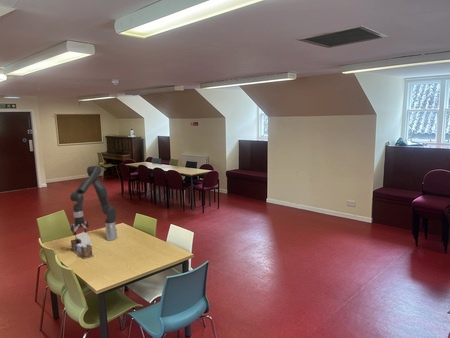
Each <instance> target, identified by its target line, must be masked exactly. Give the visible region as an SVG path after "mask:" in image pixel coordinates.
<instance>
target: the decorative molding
mask: <svg viewBox="0 0 450 338" xmlns="http://www.w3.org/2000/svg"><path fill="white" fill-rule="evenodd" d="M75 237H76V239H80V240H81V243H82V244H83V245H85V246H87V245H88V244H89V245H90V246H92V247H93V243H92V240H91V239H90V236H89V234H88V233H87V232H86V233H85V232H84V231H82V232H81V233H78V234H76V236H75Z"/></svg>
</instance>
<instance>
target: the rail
mask: <svg viewBox="0 0 450 338" xmlns="http://www.w3.org/2000/svg"><path fill="white" fill-rule="evenodd" d="M81 246H83V247H87V246H85V245H83V244H82V243H79V244H76V250H77V251H78V252H79V253H81Z"/></svg>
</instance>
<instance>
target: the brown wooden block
mask: <svg viewBox="0 0 450 338" xmlns="http://www.w3.org/2000/svg"><path fill="white" fill-rule="evenodd" d="M79 243H81V240H80V239H77V238H75V239H74V238H73V239H72V240H70V244H71V249H70V251H71V252H73V253H74V254H75V255H77V256H78V257H80V258H82V259H83V260H86V259H87V260H88V259H89V258H93V257H94V254H93V245H92V246H90V245H89V244H88V245H87V247H83V246H81V253H79V252H78V251H77V250H76V244H79Z"/></svg>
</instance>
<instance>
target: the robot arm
mask: <svg viewBox="0 0 450 338" xmlns="http://www.w3.org/2000/svg"><path fill="white" fill-rule="evenodd" d="M86 172H87V176H88V177H87V178H86V179H84V180H83V181H82V182H80V185H79V186H78V188H76V189H75V190H74V191H73V192H72V193H71V194H70V195H69V196H70V201H72V202H76V203H75V204H74V205H73V206H72V207H73V219H74V220H73V221H74V223H70V231H71V232H73V235H74V236H75V237H76V235H77V230H78V229H80V228H84V229H83V232H85V233H86V232H87V231H88V228H90V227H89V221H88V220H85V218H84V216H85V215H84V209H83V205H84V200H85V199H84V194H86V192H87V190H89V188H90V186H91V185H93V187H94V190H95V193H96V195H97V198H98V201H99V203H100V205H101V209H102V213H103V214H104V215H106V218H105V220H104V221H105V223H104V224H105V236H106V241H109V242H110V241H111V242H112V241H116V239H118V232H117V230H118V229H117V227H116V219H117V217H116V216H117V211H116V210H117V209H116V207H114V206H112V205H110V203H109V202H108V201H109V200H108V190H107V188H106V186H105V184H103V182H101V180H100V179H99V178H98V177H99V176H100V175H101V174H102V168H101V167H100V166H99V165H90V166H88V167H87V169H86Z"/></svg>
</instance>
